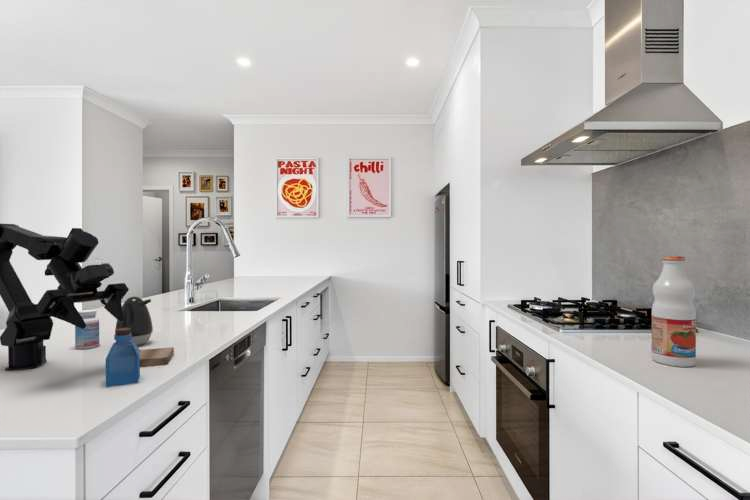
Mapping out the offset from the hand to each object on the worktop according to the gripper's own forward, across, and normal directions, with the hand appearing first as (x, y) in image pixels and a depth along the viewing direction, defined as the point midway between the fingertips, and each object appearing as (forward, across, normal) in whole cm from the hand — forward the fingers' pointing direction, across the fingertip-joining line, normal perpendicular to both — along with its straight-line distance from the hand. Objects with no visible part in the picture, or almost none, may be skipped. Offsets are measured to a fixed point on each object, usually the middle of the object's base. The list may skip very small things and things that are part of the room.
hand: (104, 323), depth 95 cm
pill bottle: (-14, +19, +32) cm, 40 cm away
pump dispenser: (-6, +26, +25) cm, 37 cm away
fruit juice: (+102, +58, -83) cm, 144 cm away
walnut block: (+8, +14, +11) cm, 19 cm away
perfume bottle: (+14, 0, +5) cm, 14 cm away
